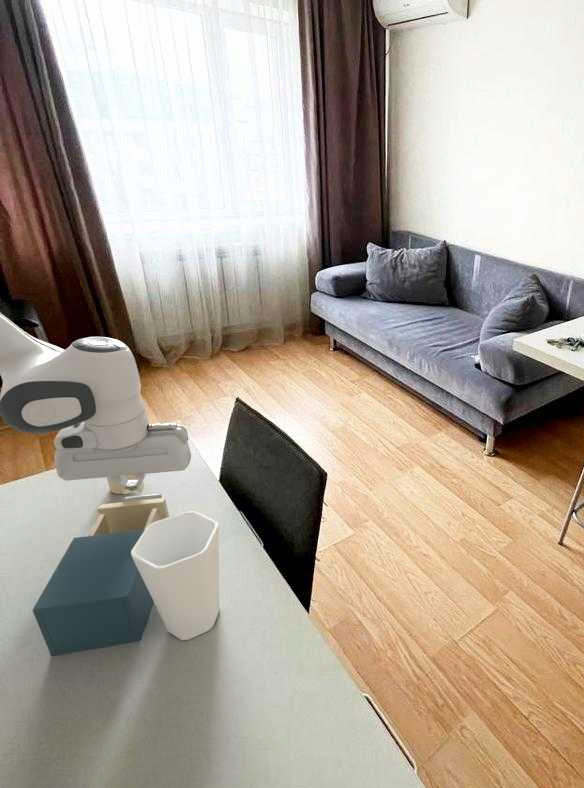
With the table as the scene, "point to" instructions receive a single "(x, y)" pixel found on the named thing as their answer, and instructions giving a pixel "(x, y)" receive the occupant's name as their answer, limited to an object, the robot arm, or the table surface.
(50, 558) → the table surface
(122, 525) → the tray
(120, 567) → the blue-grey box
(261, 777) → the table surface
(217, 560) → the cup
